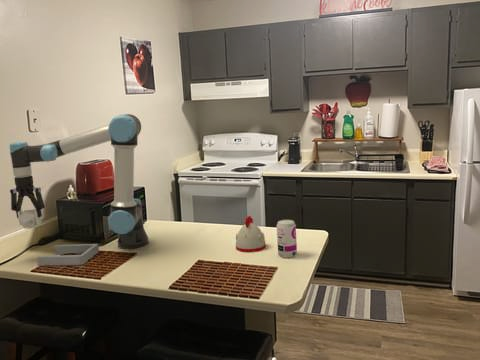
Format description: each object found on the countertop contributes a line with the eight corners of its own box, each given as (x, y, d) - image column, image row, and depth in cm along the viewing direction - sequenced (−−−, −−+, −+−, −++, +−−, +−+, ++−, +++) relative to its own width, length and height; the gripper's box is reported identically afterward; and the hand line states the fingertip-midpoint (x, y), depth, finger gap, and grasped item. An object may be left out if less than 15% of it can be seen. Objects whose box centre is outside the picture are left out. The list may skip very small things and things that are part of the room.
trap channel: (99, 251, 216) (98, 243, 215) (83, 264, 199) (82, 256, 198) (56, 252, 218) (55, 245, 217) (37, 265, 201) (36, 257, 201)
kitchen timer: (231, 251, 204) (229, 219, 202) (242, 242, 217) (240, 212, 214) (260, 253, 199) (258, 220, 196) (269, 243, 211) (268, 213, 209)
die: (25, 231, 202) (36, 212, 203) (11, 222, 203) (22, 203, 205) (36, 232, 209) (46, 214, 211) (22, 224, 211) (32, 206, 213)
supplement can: (299, 252, 196) (298, 219, 194) (293, 259, 189) (291, 225, 186) (281, 251, 200) (280, 218, 197) (275, 257, 192) (273, 224, 190)
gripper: (48, 173, 206) (55, 221, 210) (7, 175, 208) (14, 222, 212) (39, 176, 199) (47, 225, 203) (-4, 178, 201) (5, 227, 205)
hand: (30, 224), depth 208 cm, fingers closed on die, 8 cm apart
